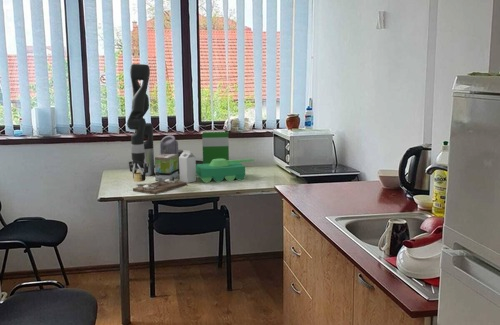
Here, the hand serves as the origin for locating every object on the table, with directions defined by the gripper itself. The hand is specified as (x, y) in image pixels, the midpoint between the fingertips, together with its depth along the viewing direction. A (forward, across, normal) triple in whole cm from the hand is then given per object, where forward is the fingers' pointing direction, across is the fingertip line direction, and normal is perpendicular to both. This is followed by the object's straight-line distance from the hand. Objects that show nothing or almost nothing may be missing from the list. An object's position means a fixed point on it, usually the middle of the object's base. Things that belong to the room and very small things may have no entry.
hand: (139, 179), depth 314 cm
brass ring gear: (+1, 0, 0) cm, 1 cm away
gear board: (+3, -16, 0) cm, 17 cm away
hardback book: (+4, -6, -69) cm, 69 cm away
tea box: (+4, -2, -22) cm, 22 cm away
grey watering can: (+4, +10, -42) cm, 44 cm away
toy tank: (+4, -34, -41) cm, 53 cm away
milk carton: (+3, -20, -21) cm, 29 cm away
